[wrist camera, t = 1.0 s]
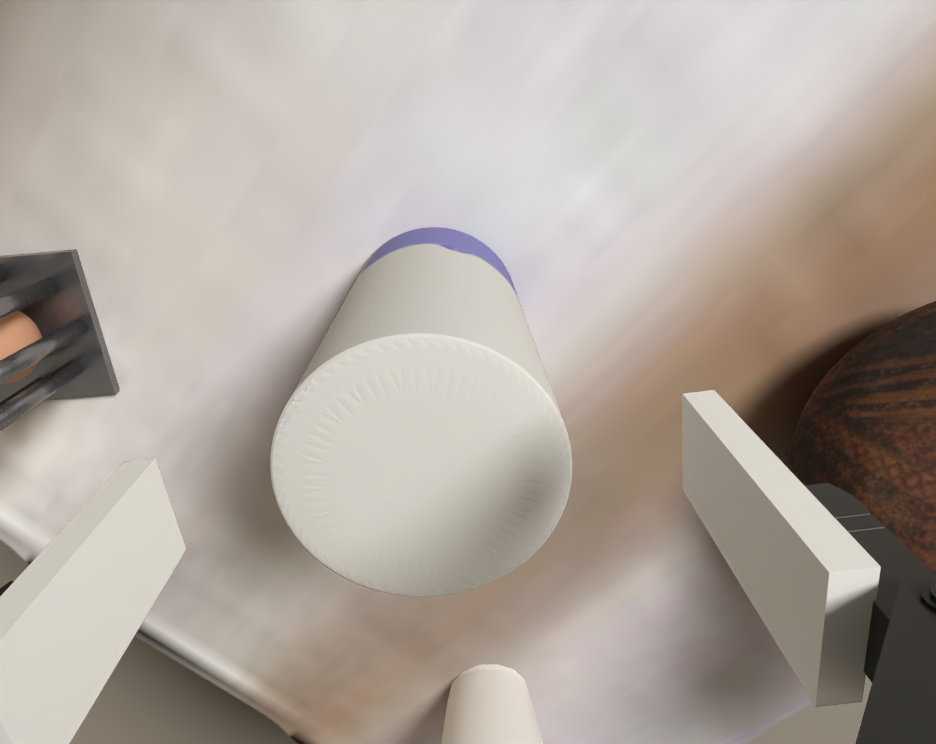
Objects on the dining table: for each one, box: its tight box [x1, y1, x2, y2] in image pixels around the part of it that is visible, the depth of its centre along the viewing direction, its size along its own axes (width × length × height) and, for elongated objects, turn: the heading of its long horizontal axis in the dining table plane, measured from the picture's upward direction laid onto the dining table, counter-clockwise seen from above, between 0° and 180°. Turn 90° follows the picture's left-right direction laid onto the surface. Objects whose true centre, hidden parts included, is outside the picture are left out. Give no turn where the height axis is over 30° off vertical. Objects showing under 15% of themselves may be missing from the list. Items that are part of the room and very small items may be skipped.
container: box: [270, 228, 572, 597], centre depth 31 cm, size 10×10×20 cm
